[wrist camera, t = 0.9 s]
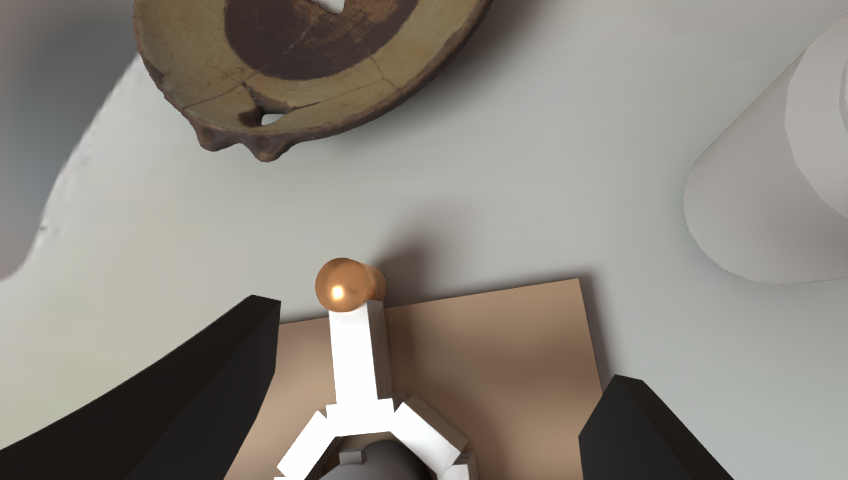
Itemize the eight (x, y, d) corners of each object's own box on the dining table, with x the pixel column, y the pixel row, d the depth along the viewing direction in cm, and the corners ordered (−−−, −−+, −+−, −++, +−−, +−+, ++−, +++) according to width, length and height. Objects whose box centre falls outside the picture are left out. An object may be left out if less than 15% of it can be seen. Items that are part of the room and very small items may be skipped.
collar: (496, 600, 20) (489, 646, 18) (308, 601, 22) (273, 642, 20) (444, 250, 24) (431, 240, 21) (284, 278, 26) (252, 274, 23)
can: (656, 256, 22) (781, 191, 11) (702, 116, 23) (868, -88, 11) (834, 310, 20) (1228, 302, 9) (880, 155, 21) (1307, -49, 9)
